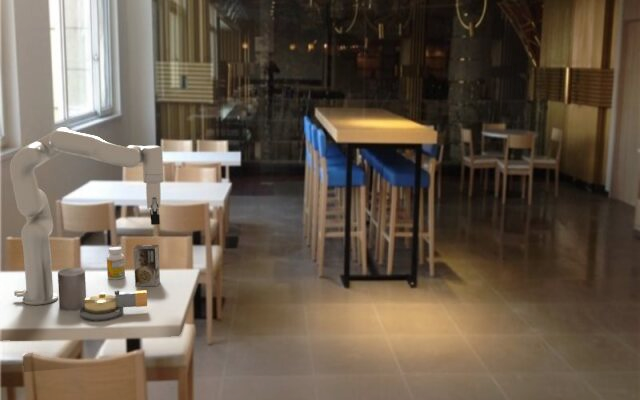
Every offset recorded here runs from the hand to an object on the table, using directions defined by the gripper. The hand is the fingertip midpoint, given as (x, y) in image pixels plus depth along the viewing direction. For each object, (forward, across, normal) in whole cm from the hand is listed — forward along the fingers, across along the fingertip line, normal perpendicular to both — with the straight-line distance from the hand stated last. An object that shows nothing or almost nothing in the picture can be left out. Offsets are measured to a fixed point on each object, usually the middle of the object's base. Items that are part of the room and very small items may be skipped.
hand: (155, 221), depth 276 cm
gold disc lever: (+27, +19, -15) cm, 36 cm away
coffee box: (+30, -15, -4) cm, 33 cm away
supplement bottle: (+30, -27, -17) cm, 43 cm away
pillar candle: (+30, +8, -31) cm, 44 cm away
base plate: (+29, +19, -20) cm, 40 cm away
